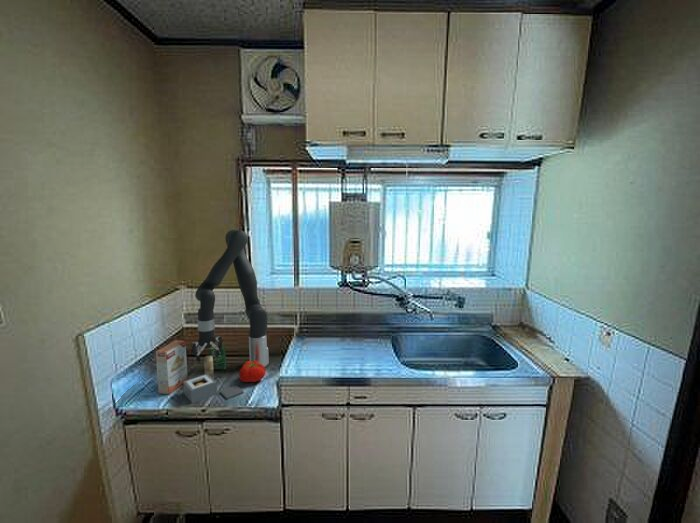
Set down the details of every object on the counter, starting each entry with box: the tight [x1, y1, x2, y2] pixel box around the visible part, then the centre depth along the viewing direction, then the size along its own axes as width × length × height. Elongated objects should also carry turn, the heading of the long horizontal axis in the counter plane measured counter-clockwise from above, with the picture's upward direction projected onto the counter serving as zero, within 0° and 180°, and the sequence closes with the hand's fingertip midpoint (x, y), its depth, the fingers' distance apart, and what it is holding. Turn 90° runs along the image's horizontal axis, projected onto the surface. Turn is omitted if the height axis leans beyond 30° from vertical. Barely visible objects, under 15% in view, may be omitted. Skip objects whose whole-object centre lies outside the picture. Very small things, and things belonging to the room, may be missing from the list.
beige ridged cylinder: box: [203, 355, 215, 380], centre depth 165 cm, size 4×4×12 cm
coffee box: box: [208, 344, 227, 370], centre depth 177 cm, size 8×3×13 cm, turn 88°
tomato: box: [238, 360, 266, 383], centre depth 166 cm, size 14×13×9 cm
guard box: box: [182, 373, 218, 404], centre depth 153 cm, size 11×11×6 cm
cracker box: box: [155, 339, 189, 395], centre depth 158 cm, size 14×6×21 cm, turn 172°
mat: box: [219, 384, 245, 400], centre depth 155 cm, size 8×8×1 cm
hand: (207, 359), depth 165 cm, fingers open, 8 cm apart
